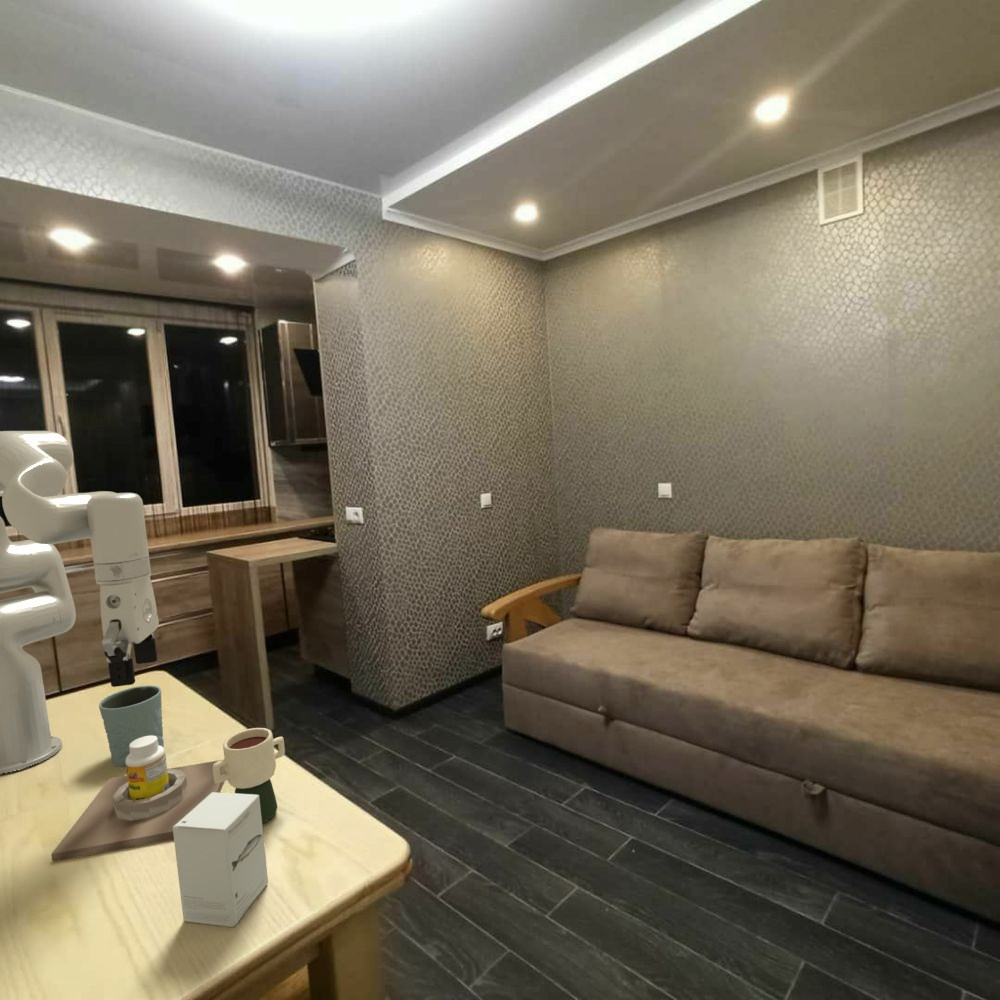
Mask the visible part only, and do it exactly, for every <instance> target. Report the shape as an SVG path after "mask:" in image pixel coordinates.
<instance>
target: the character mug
mask: <svg viewBox="0 0 1000 1000" xmlns="http://www.w3.org/2000/svg"><path fill="white" fill-rule="evenodd" d="M284 740H285V739H284V737H283V736H278V737H275V738H274V737H273V732H272V730H271V729H268V728H266V727H253V728H247V729H244V730H241V731H240V730H239V731H238V732H235V733H233V734H232V735H230V736H228V737H227V738H226V739H225V741H224V742H223V744H222V745H223V747H222V748H223V749H222V750H223V756H224V759H220V760H221V761H219V760H217V761H218V762H216V763H215V764H213V776H214V782H215V784H218V783H222V782H224V781H225V782H226V781H227V782H228V784H229V785H230V786H231V787H233V788H234V793H237V794H254V795H259V799H260V808H261V818H262V824H263V823H264V822H265V823H266V822H267V821H269V820H270V819H271V818H272V817H273V816H274V815H275V814H276V812H277V810H278V806H279V805H278V804H277V803H278V802H277V799H276V794H275V790H274V787H273V783H272V780H271V778H272V777H273V776H274V775H275V771H276V766H277V764H276V762H277V761H276V760H277V759H279V758H283V756H284V755H285V754H286V749H285V741H284ZM276 745H277V746H278V751H277V752H276V751H275V746H276ZM223 766H225V768H226V774H224V775H222V776H221V775H220V767H223ZM225 782H224V783H225Z"/></svg>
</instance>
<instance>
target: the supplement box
mask: <svg viewBox="0 0 1000 1000" xmlns="http://www.w3.org/2000/svg"><path fill="white" fill-rule="evenodd" d="M173 834H174V839H173V841H174V848H175V849H174V851H175V859H176V860H175V861H176V867H177V876H178V884H179V891H180V894H179V895H180V903H181V910H182V919H183V921H184V922H188V923H195V924H202V925H211V926H212V925H213V926H219V927H230V928H234V927H236V925H238V923H239V921H240V920H241V918H242V917H243V916H244V914H245V913H246V912H247V910H248V909H249V907H250V906H251V905H252V904H253V903H254V902H255V900H256V898H257V897H258V896H259V895H260V894H261V892H262V891H263V890H264V888H266V887H267V885H268V884H269V878H268V877H269V876H268V869H267V868H268V867H267V859H266V858H267V857H266V847H265V838H264V830H263V823H262V818H261V808H260V799H259V795H254V794H237V793H235V792H220V793H217V792H212V793H211V794H209V795H208V796H207V797H206V798H205V799H204V800H203V801H202V802H200V803H199V804H198V805H197V806H196V807H195V808H194V809H192V810H191V811H190V812H189V813H188V814H187V815H186V816H185V817H184V818H182V819H181V820H180V821H179V822H178V823H177V824H176V825H174V826H173Z"/></svg>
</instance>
